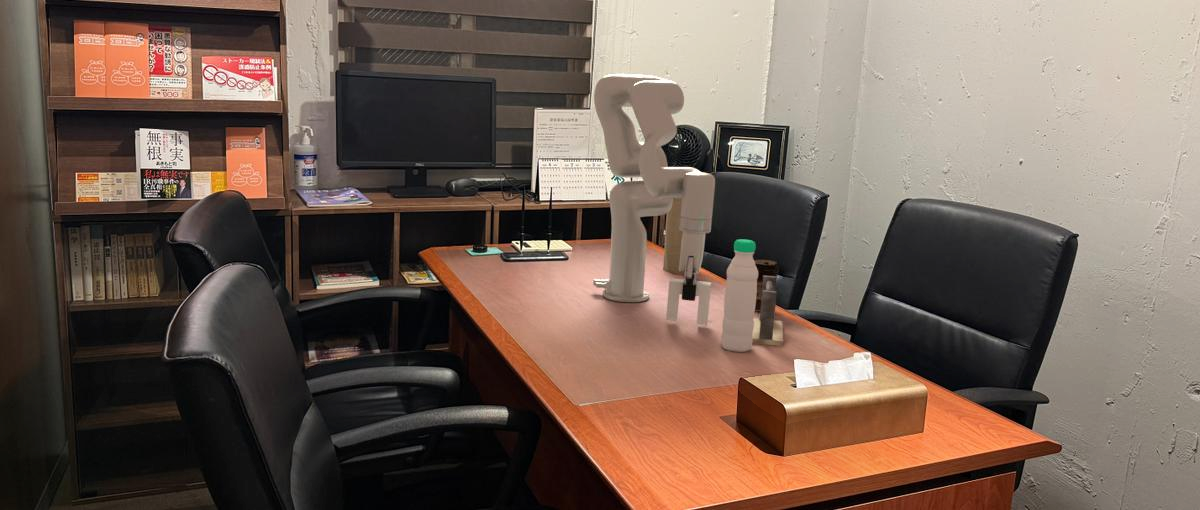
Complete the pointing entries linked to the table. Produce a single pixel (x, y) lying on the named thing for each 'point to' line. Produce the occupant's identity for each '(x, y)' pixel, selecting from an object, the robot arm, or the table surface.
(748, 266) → the water bottle
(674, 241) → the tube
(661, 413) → the table surface
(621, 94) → the robot arm
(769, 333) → the hook stand
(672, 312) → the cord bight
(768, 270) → the coffee cup
